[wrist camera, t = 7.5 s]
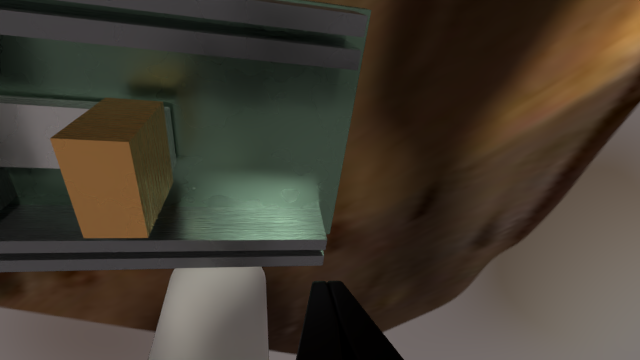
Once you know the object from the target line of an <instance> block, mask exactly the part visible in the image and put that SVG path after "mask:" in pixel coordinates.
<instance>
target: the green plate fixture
mask: <svg viewBox="0 0 640 360" xmlns="http://www.w3.org/2000/svg"><path fill="white" fill-rule="evenodd" d="M370 14H371V10H368V9H365V8H358V7H351V6H344V5H337V4H330V3H322V2H315V1H308V0H0V95H5V96H19V97H33V98H48V99H62V100H76V101H91V102H100V101H101V100H103V99H104V98H119V99H133V100H147V101H160V102H163V106H164V107H170V113H171V121H172V129H173V138H174V146H175V154H176V162H177V163H176V165H175V167H174V170H173V172H172V175H173V184H172V186H171V188H170V191H169V193H168V195H167V197H166V199H165V202H164V204H163V206H162V208H161V211H160V213H159V215H158V217H157V219H156V222H155V224H154V226H153V228H152V230H151V233H150V235H149V237H148V238H83V235H82V232H81V229H80V226H79V223H78V220H77V217H76V214H75V211H74V208H73V205H72V202H71V199H70V196H69V194H68V191H67V188H66V185H65V182H64V179H63V176H62V173H61V170H60V169H55V168H25V167H0V272H25V271H73V270H121V269H169V268H217V267H265V266H313V265H323V259H324V253H323V250H325V248H326V243H327V237H326V234H330V229H331V224H332V219H333V213H334V208H335V202H336V197H337V192H338V186H339V181H340V176H341V170H342V165H343V159H344V154H345V149H346V143H347V138H348V132H349V127H350V122H351V116H352V111H353V105H354V100H355V95H356V89H357V84H358V79H359V73H360V68H361V62H362V57H363V52H364V46H365V41H366V35H367V30H368V25H369V19H370Z"/></svg>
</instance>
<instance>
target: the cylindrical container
mask: <svg viewBox="0 0 640 360" xmlns="http://www.w3.org/2000/svg"><path fill="white" fill-rule="evenodd" d="M148 360H269V350H268V324H267V298H266V278H265V273H264V271H263V269H262V267H217V268H175V269H174V271H173V273H172V275H171V278H170V281H169V285H168V289H167V292H166V296H165V300H164V303H163V307H162V310H161V314H160V318H159V321H158V325H157V329H156V332H155V336H154V340H153V343H152V347H151V351H150V354H149V358H148Z"/></svg>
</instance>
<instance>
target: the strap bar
mask: <svg viewBox="0 0 640 360" xmlns="http://www.w3.org/2000/svg"><path fill="white" fill-rule="evenodd" d="M176 163H177V162H176V154H175V146H174V138H173V129H172V121H171V113H170V107H164V106H163V102H160V101H147V100H133V99H119V98H104V99H103V100H101V101H100V102H91V101H76V100H62V99H48V98H33V97H19V96H5V95H0V167H25V168H55V169H60V170H61V173H62V176H63V179H64V182H65V185H66V188H67V191H68V194H69V196H70V199H71V202H72V205H73V208H74V211H75V214H76V217H77V220H78V223H79V226H80V229H81V232H82V235H83V238H148V237H149V235H150V233H151V230H152V228H153V226H154V224H155V222H156V219H157V217H158V215H159V213H160V211H161V208H162V206H163V204H164V202H165V199H166V197H167V195H168V193H169V191H170V188H171V186H172V184H173V175H172V172H173V170H174V167H175V165H176Z"/></svg>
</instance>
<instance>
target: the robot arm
mask: <svg viewBox="0 0 640 360" xmlns="http://www.w3.org/2000/svg"><path fill="white" fill-rule="evenodd" d="M296 360H404V359H403V358H402V357H401V356H400V354H399V353H398V352H397V350H396V349H395V348H394V347H393V345H392V344H391V343H390V342H389V340H388V339H387V338H386V337H385V335H384V334H383V333H382V331H381V330H380V329H379V328H378V326H377V325H376V324H375V323H374V321H373V320H372V319H371V318H370V316H369V315H368V314H367V313H366V311H365V310H364V309H363V308H362V306H361V305H360V304H359V303H358V301H357V300H356V299H355V297H354V296H353V295H352V294H351V292H350V291H349V290H348V289H347V287H346V286H345V285H344V284H343V282H341V281H328V282H325V281H314V282H313V283H312V286H311V291H310V296H309V301H308V305H307V310H306V315H305V319H304V324H303V329H302V333H301V338H300V343H299V348H298V352H297V357H296Z"/></svg>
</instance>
